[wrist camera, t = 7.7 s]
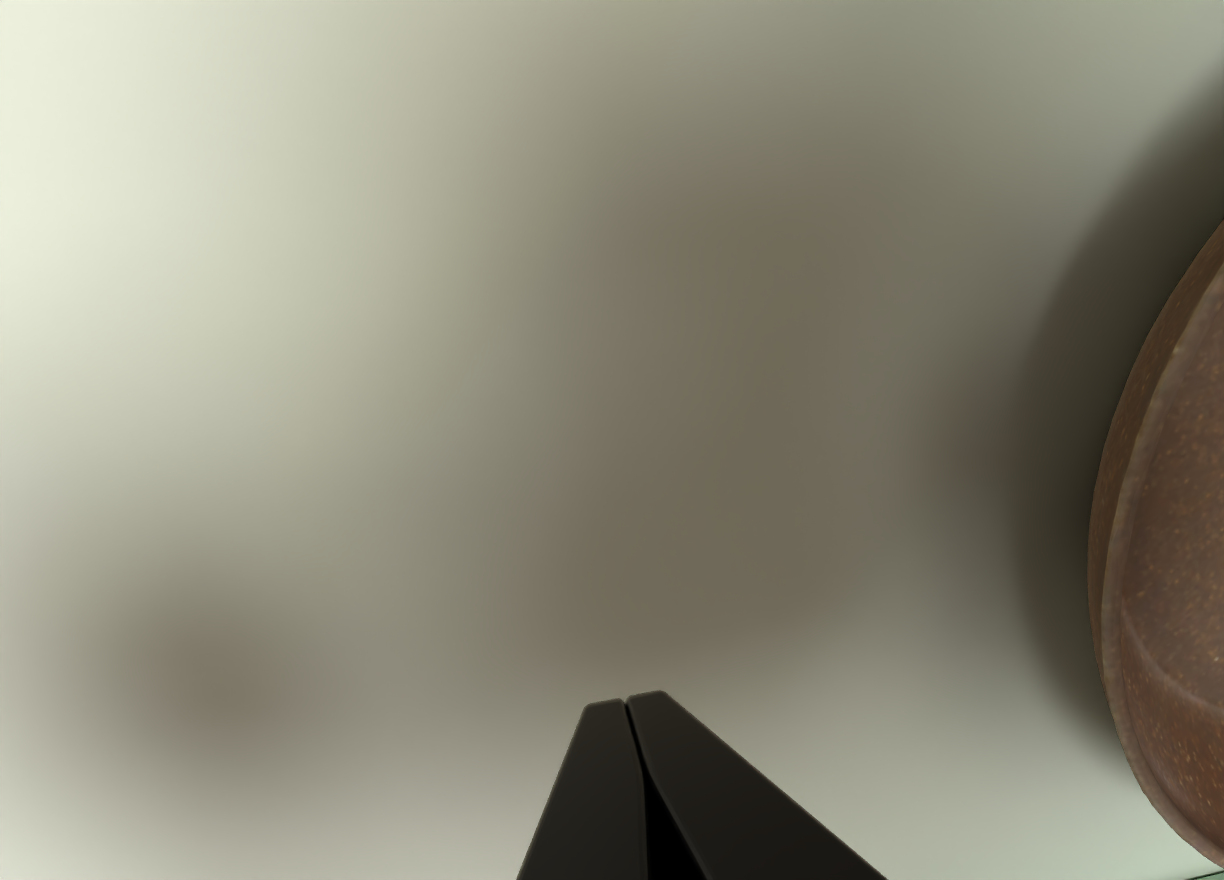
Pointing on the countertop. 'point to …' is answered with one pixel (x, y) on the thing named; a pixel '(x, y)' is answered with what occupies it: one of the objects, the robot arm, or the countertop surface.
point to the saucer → (1168, 559)
